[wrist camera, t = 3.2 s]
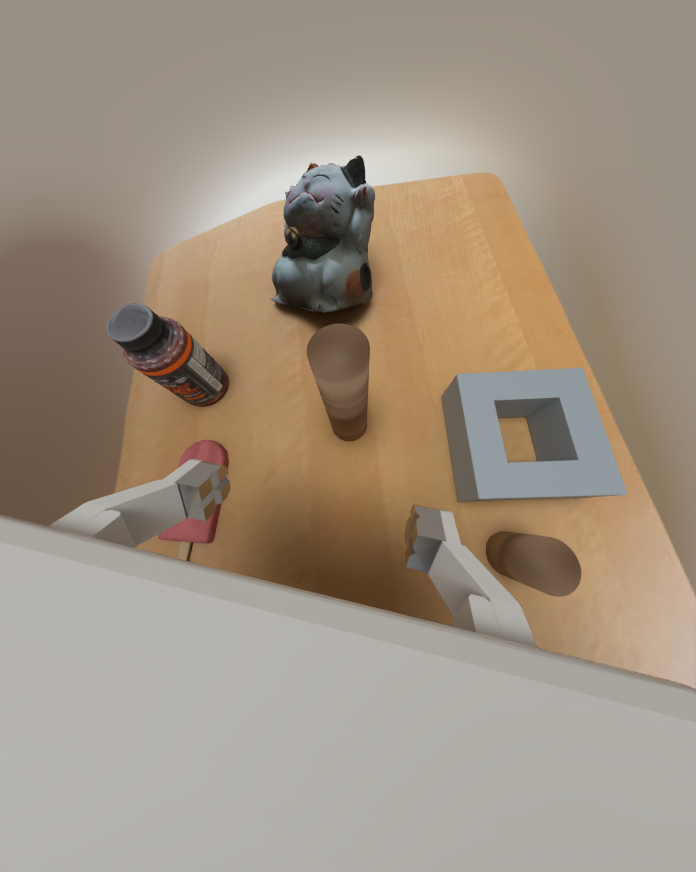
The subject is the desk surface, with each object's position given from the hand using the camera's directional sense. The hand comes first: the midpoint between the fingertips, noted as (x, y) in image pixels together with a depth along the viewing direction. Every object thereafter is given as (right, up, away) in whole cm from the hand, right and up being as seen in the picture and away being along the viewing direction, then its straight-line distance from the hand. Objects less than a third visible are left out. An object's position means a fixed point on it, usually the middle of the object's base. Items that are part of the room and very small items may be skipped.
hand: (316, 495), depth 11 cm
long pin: (+2, +4, +18) cm, 19 cm away
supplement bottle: (-17, +9, +21) cm, 28 cm away
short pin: (+17, -9, +14) cm, 23 cm away
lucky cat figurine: (-2, +24, +25) cm, 35 cm away
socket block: (+19, +2, +17) cm, 25 cm away
